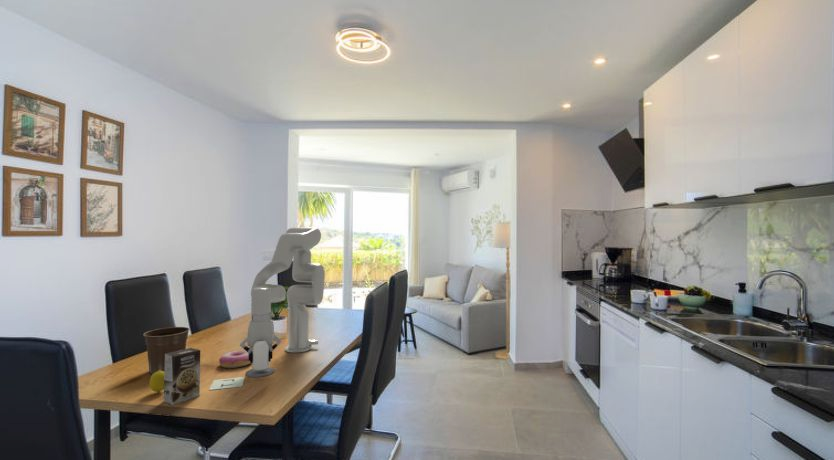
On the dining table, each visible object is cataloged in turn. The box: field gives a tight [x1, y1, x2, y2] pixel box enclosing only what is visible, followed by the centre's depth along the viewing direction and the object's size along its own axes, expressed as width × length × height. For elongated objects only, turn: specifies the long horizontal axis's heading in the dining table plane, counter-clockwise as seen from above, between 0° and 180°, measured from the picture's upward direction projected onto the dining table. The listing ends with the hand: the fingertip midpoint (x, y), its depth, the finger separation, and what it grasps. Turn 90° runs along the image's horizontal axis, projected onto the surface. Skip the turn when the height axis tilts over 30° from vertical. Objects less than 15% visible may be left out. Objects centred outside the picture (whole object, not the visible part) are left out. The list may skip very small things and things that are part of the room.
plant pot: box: [142, 326, 191, 375], centre depth 162 cm, size 16×16×16 cm
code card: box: [208, 376, 246, 391], centre depth 148 cm, size 11×10×1 cm
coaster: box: [245, 366, 276, 378], centre depth 160 cm, size 11×11×1 cm
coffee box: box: [163, 347, 201, 406], centre depth 134 cm, size 9×6×16 cm
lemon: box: [149, 370, 164, 394], centre depth 139 cm, size 6×6×8 cm
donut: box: [218, 349, 251, 369], centre depth 170 cm, size 14×13×5 cm
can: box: [251, 340, 270, 371], centre depth 160 cm, size 6×6×12 cm
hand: (260, 361), depth 160 cm, fingers closed on can, 6 cm apart
